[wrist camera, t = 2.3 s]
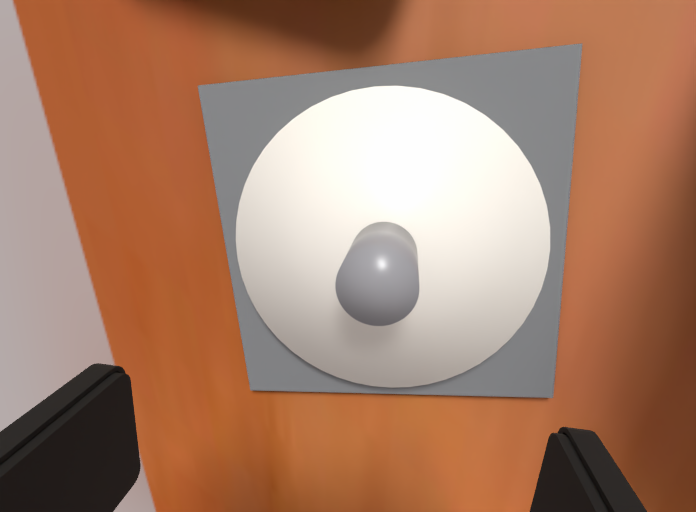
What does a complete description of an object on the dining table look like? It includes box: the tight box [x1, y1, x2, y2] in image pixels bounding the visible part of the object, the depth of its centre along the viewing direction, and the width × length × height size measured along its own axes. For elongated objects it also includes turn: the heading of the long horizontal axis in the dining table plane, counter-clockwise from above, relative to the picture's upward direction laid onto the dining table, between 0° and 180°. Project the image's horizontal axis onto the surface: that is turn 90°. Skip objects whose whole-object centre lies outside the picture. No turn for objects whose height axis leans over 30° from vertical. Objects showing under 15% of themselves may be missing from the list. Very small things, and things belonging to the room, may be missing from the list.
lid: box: [236, 86, 550, 388], centre depth 20 cm, size 17×17×6 cm
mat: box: [198, 44, 582, 398], centre depth 23 cm, size 19×19×1 cm
